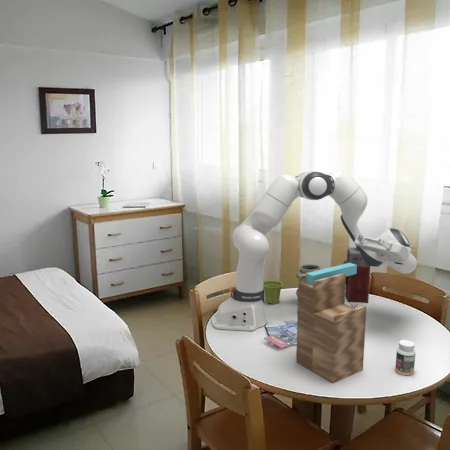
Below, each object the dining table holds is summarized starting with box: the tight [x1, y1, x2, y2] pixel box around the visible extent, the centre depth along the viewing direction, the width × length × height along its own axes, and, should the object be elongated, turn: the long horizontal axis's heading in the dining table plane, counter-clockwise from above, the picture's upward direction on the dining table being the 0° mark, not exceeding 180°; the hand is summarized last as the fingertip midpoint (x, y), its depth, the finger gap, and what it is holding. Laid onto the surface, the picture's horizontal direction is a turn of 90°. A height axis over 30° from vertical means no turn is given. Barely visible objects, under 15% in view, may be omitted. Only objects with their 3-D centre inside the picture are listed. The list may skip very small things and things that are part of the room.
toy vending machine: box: [342, 246, 371, 304], centre depth 217 cm, size 9×11×28 cm
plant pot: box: [263, 280, 284, 305], centre depth 216 cm, size 9×9×9 cm
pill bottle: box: [395, 339, 416, 376], centre depth 154 cm, size 6×6×10 cm
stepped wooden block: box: [295, 273, 367, 384], centre depth 155 cm, size 14×16×30 cm
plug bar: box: [306, 263, 357, 285], centre depth 160 cm, size 21×3×3 cm, turn 125°
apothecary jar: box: [295, 263, 321, 298], centre depth 210 cm, size 12×12×18 cm
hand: (368, 239), depth 172 cm, fingers open, 8 cm apart
